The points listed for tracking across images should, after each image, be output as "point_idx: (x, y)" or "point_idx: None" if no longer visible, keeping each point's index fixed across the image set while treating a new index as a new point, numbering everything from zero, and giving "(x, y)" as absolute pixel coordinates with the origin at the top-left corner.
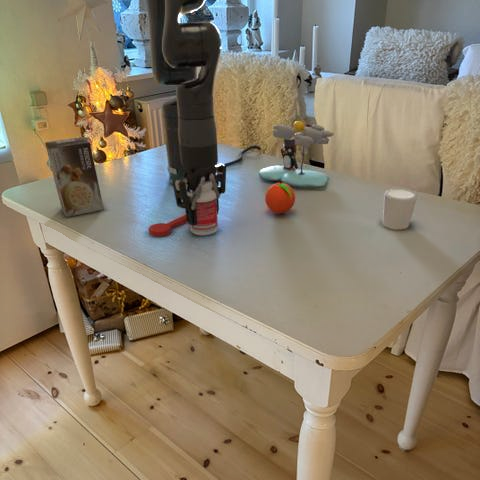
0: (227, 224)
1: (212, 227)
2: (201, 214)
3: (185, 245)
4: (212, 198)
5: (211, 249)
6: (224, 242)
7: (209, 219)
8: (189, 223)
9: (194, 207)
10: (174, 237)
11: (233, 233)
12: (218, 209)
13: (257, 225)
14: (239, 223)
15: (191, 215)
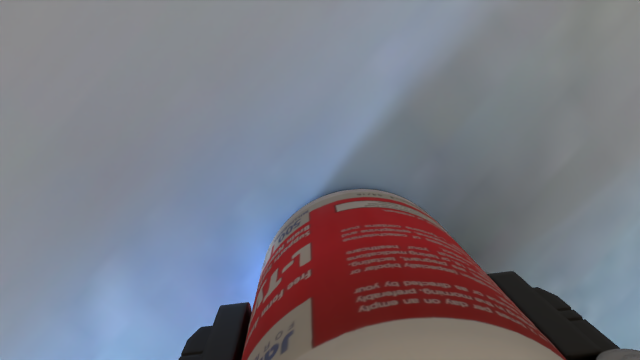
0: (173, 238)
1: (371, 198)
2: (496, 284)
3: (591, 192)
4: (405, 337)
5: (532, 14)
6: (393, 29)
7: (411, 226)
8: None
9: (629, 358)
10: None
11: (243, 94)
12: (194, 337)
13: (7, 62)
14: (94, 189)
15: (582, 329)
